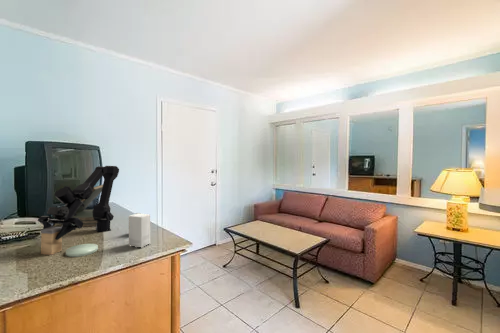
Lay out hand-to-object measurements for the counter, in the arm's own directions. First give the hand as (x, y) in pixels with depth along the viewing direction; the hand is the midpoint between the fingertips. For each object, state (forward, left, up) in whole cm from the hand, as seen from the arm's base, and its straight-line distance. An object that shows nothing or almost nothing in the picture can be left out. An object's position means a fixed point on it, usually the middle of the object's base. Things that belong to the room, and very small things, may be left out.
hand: (48, 238), depth 103 cm
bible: (-25, -49, -7) cm, 55 cm away
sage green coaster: (-11, +7, -7) cm, 15 cm away
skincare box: (-33, +16, -7) cm, 37 cm away
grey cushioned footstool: (-1, -1, -7) cm, 7 cm away
